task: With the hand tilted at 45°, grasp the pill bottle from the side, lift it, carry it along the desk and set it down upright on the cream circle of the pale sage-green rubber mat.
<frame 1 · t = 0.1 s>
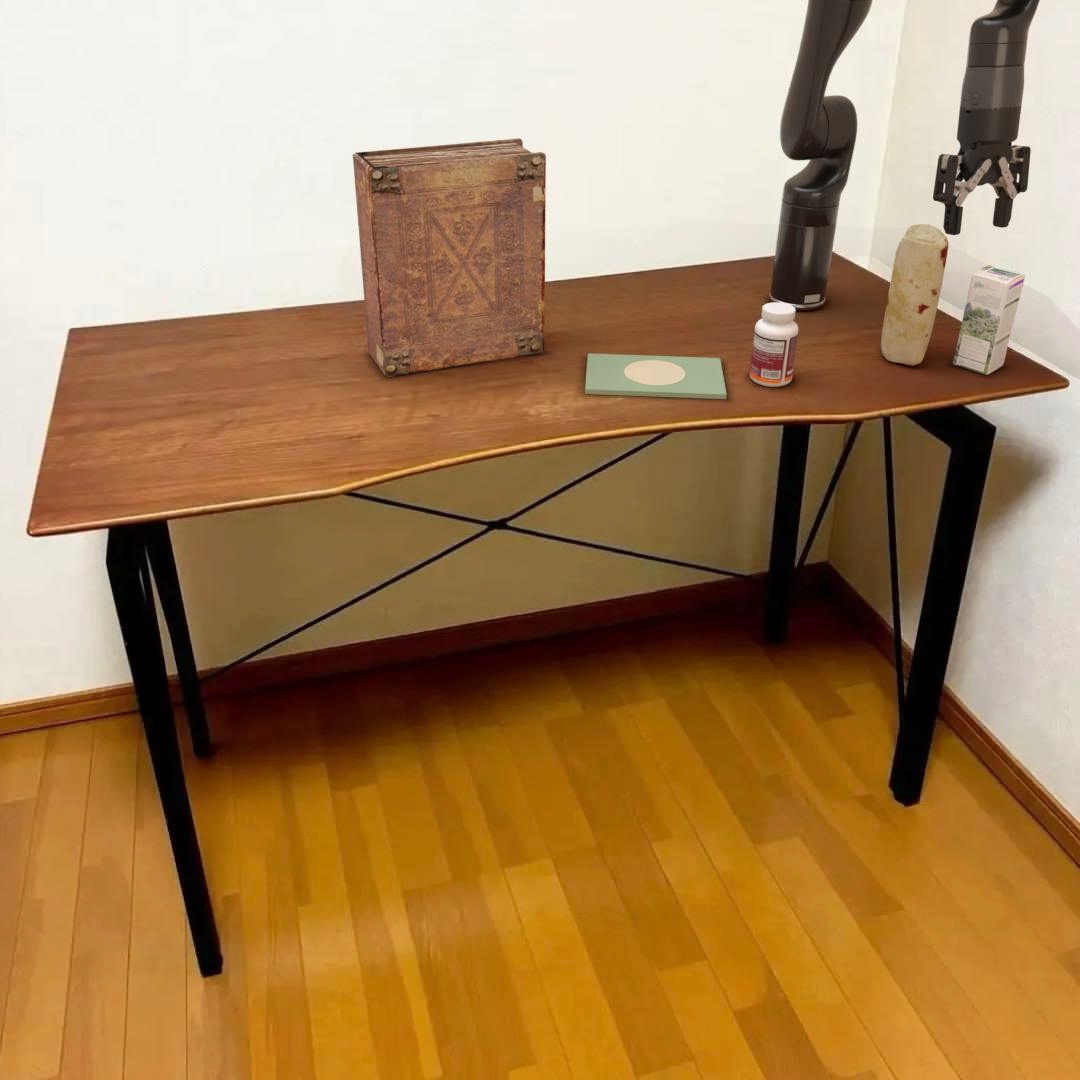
hand: (976, 230, 152), 22 cm above the table, tool pointing down, fingers open, 8 cm apart
mat: (654, 378, 164), on the table
pill bottle: (770, 380, 164), on the table
book: (456, 355, 171), on the table
food model: (900, 359, 171), on the table
syrup box: (977, 366, 169), on the table
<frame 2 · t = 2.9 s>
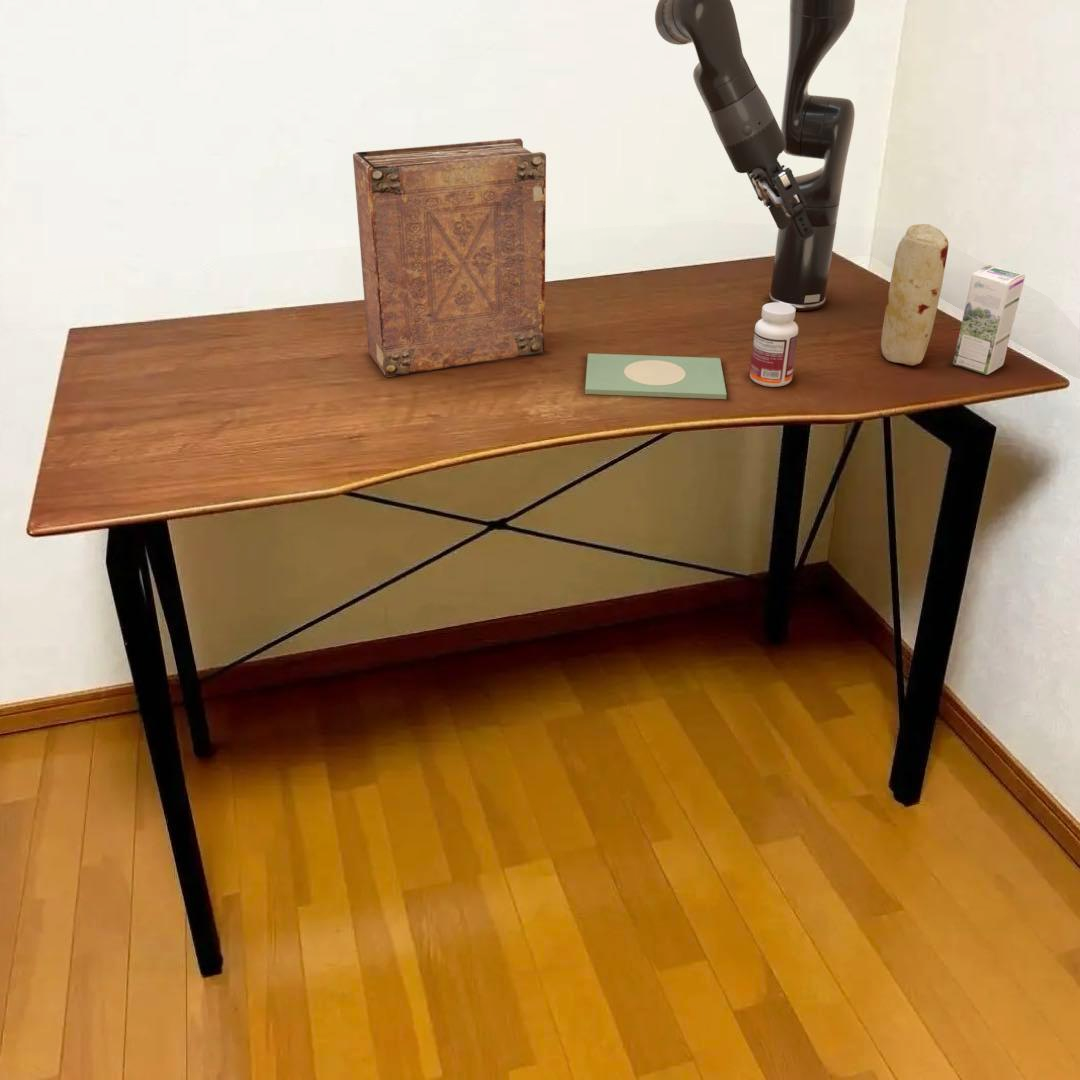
hand: (796, 231, 157), 20 cm above the table, tool tilted 30°, fingers open, 8 cm apart
nothing on the table moved.
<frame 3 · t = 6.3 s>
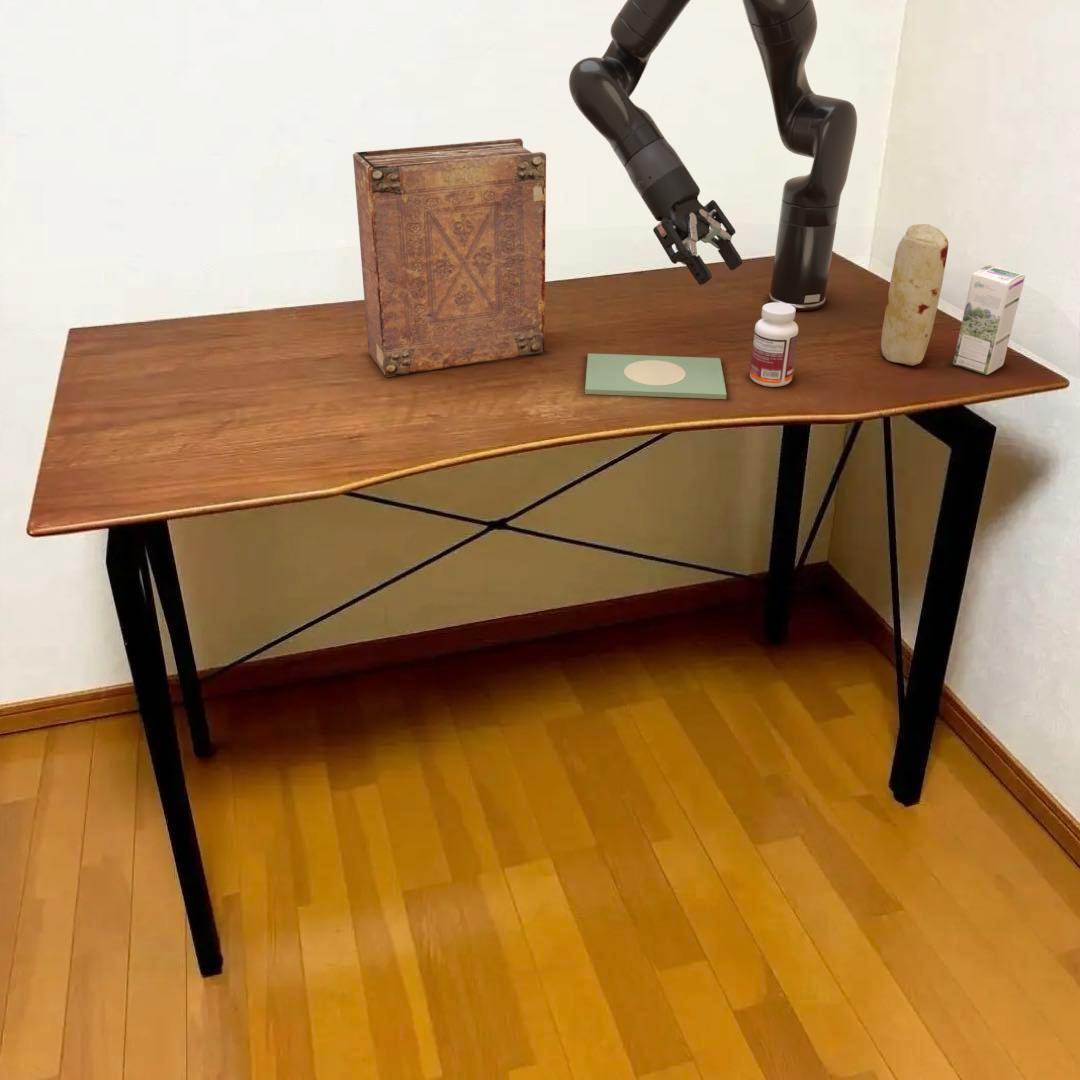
hand: (722, 274, 162), 14 cm above the table, tool tilted 45°, fingers open, 8 cm apart
nothing on the table moved.
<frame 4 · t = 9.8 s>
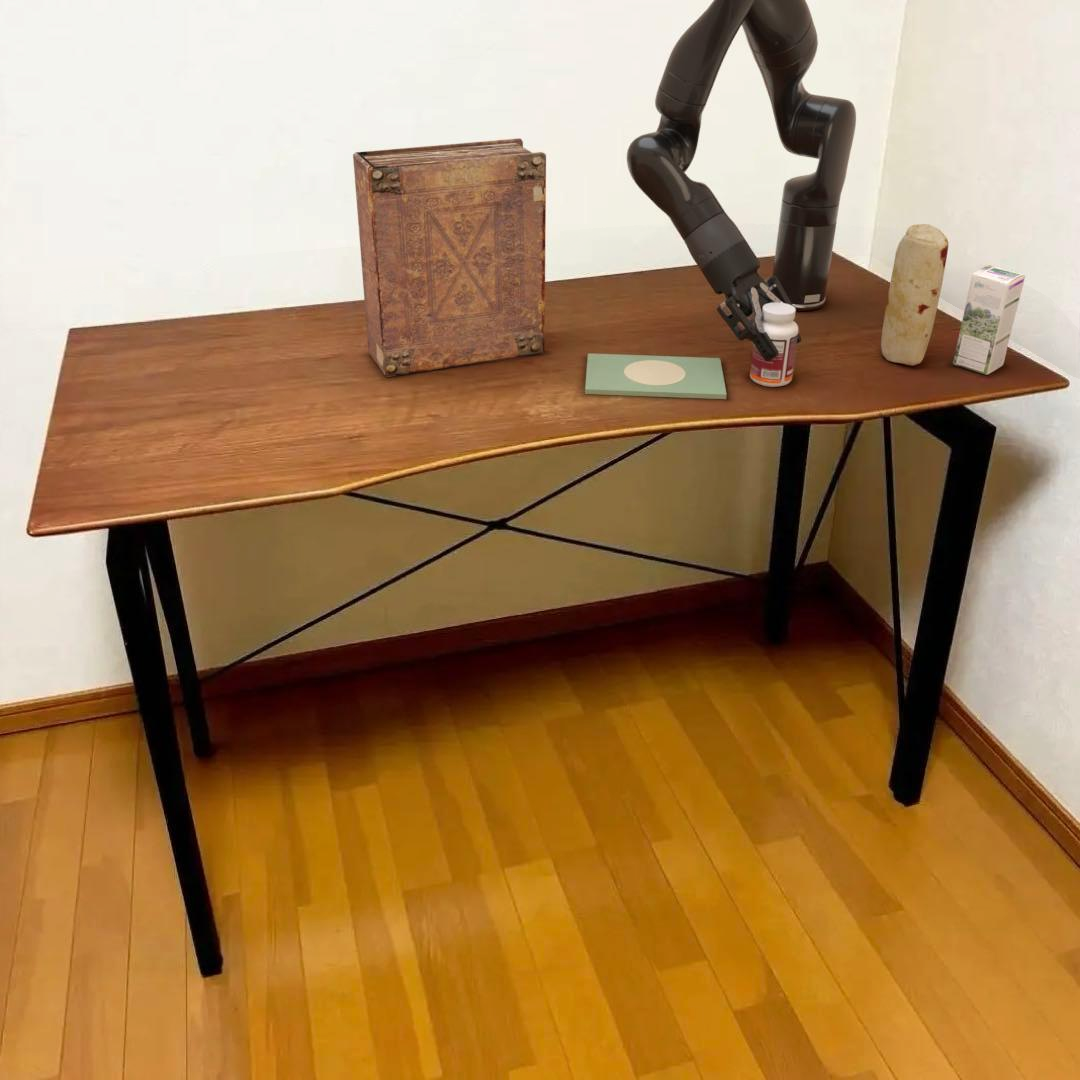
hand: (784, 350, 160), 5 cm above the table, tool tilted 45°, fingers closed on pill bottle, 6 cm apart
pill bottle: (770, 380, 164), on the table, touching gripper
everything else where it was.
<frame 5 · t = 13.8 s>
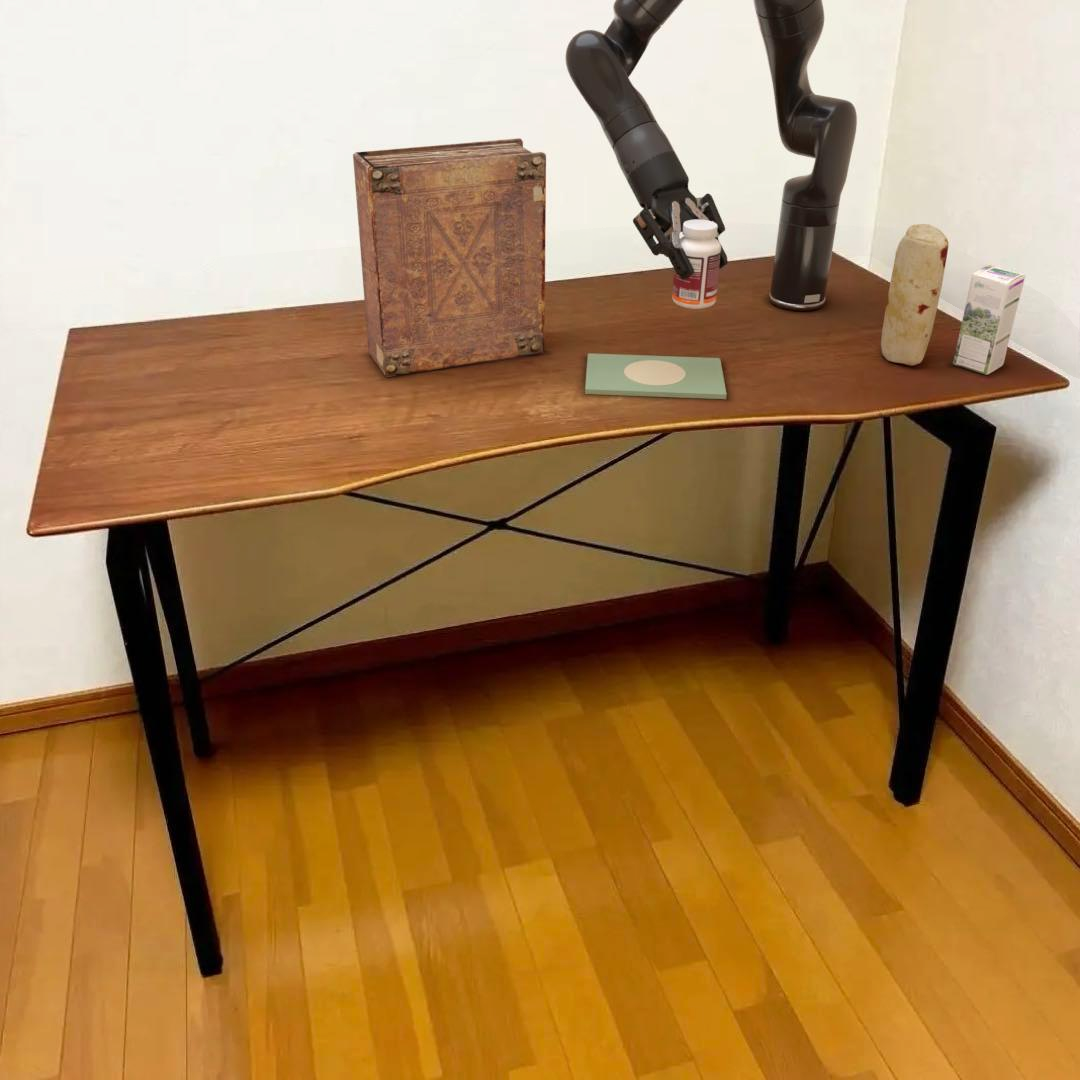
hand: (705, 271, 153), 17 cm above the table, tool tilted 45°, fingers closed on pill bottle, 6 cm apart
pill bottle: (693, 303, 157), point 12 cm above the table, touching gripper
everything else where it was.
when the fingers open (6 cm above the table, at t = 18.1 s): pill bottle stays where it is, resting on mat.
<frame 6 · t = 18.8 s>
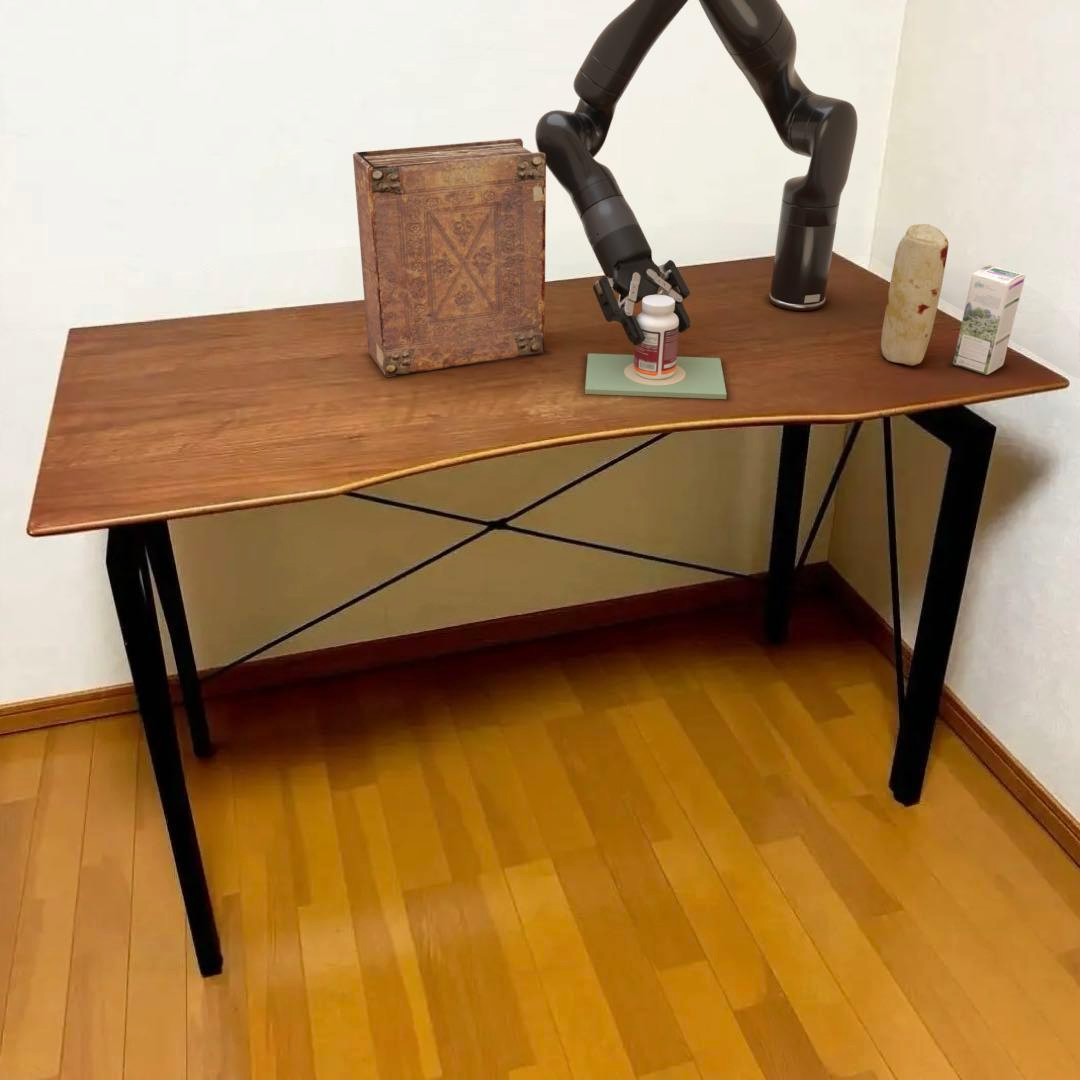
hand: (663, 336, 160), 7 cm above the table, tool tilted 45°, fingers open, 8 cm apart
pill bottle: (654, 373, 164), point 1 cm above the table, touching mat
everything else where it was.
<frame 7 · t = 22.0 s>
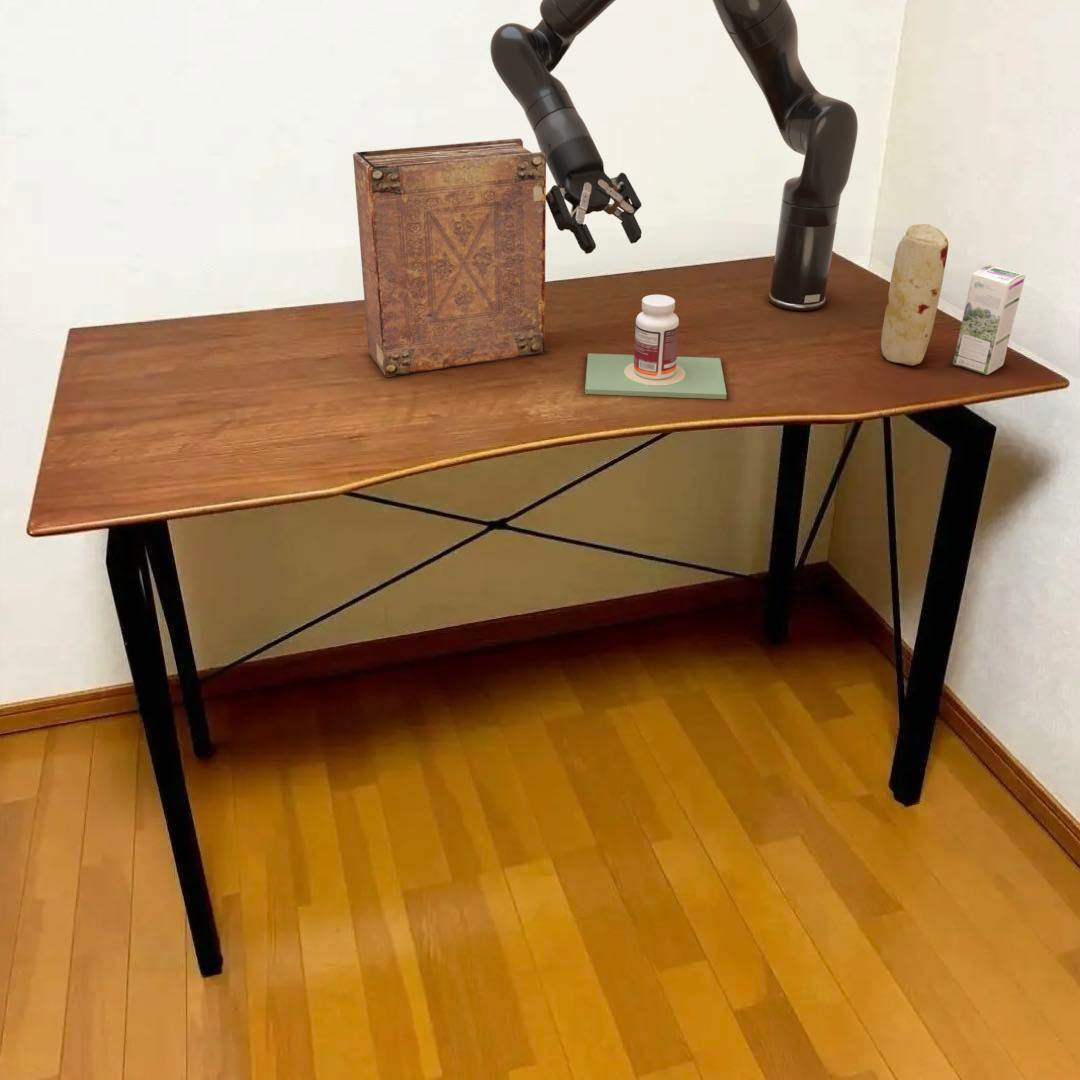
hand: (614, 245, 163), 17 cm above the table, tool tilted 45°, fingers open, 8 cm apart
nothing on the table moved.
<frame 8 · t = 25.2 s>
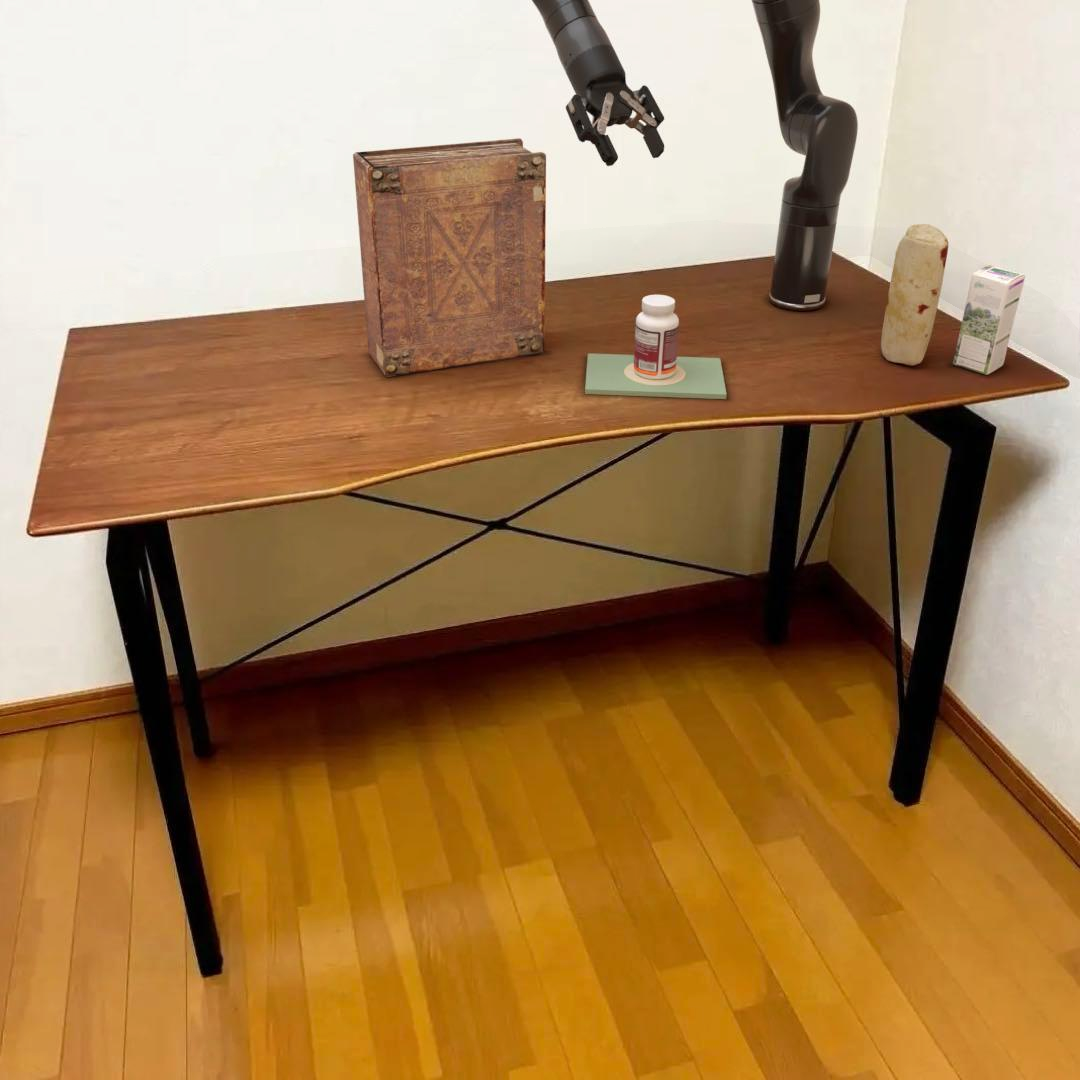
hand: (636, 158, 158), 29 cm above the table, tool tilted 45°, fingers open, 8 cm apart
nothing on the table moved.
at the end: pill bottle inside the target area on the mat (0.1 cm from its centre), point 0.7 cm above the mat's base; pill bottle tilted 0°; the gripper is holding nothing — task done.
